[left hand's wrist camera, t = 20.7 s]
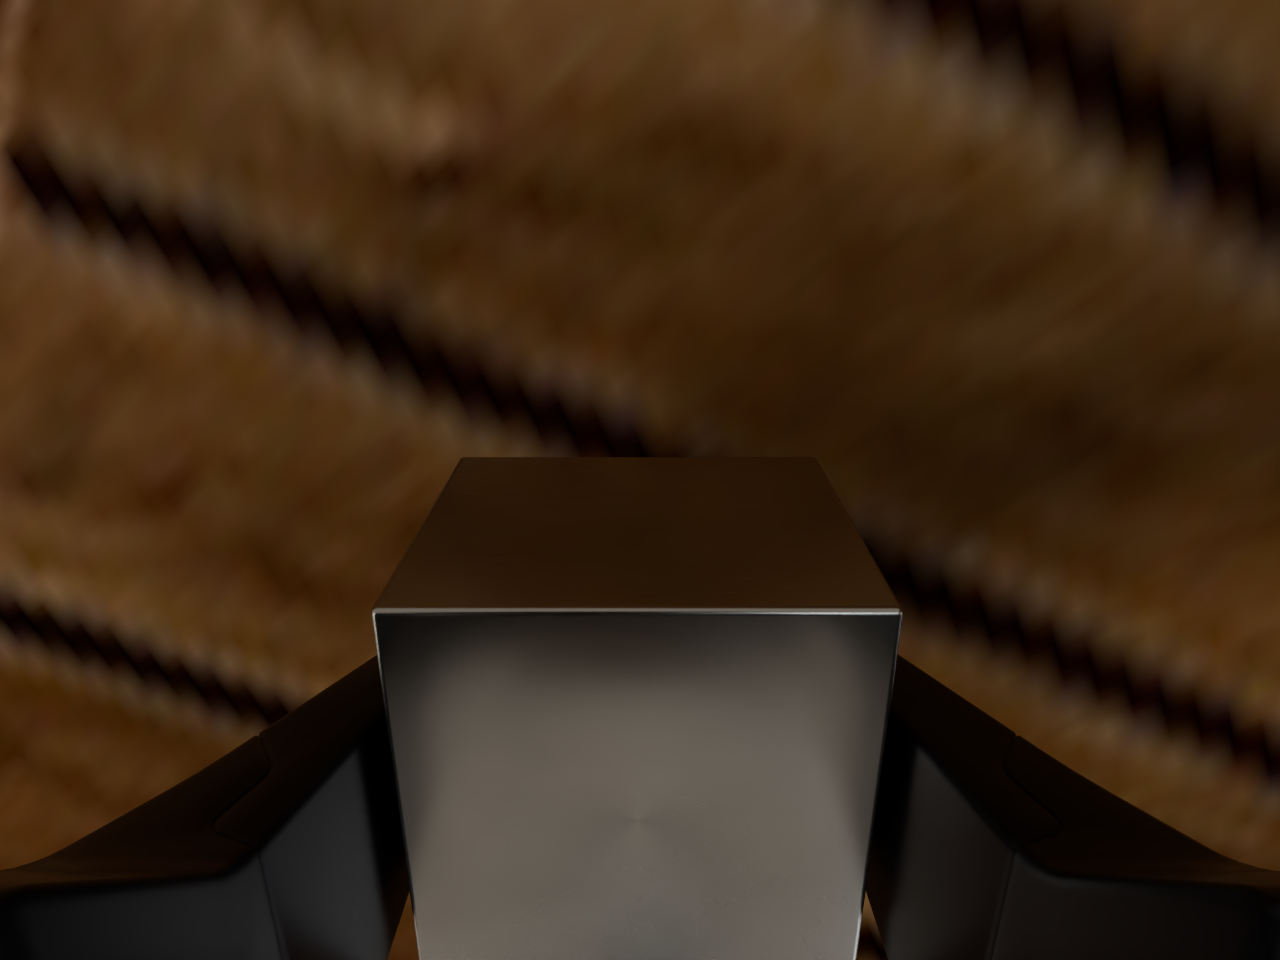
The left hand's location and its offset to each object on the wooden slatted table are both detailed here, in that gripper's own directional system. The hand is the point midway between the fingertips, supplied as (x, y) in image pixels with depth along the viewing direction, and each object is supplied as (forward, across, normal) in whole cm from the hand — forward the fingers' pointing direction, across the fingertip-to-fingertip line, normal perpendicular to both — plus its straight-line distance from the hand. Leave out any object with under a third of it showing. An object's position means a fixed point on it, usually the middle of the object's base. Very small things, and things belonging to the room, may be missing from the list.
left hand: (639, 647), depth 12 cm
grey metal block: (+1, 0, 0) cm, 1 cm away
